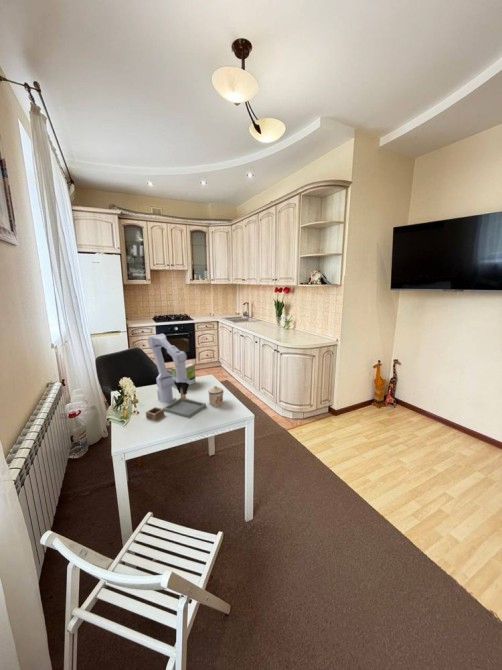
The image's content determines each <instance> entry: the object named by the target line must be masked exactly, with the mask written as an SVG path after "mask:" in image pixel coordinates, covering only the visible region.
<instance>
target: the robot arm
mask: <svg viewBox="0 0 502 670" xmlns="http://www.w3.org/2000/svg"><path fill="white" fill-rule="evenodd" d="M167 339H168V338H167V335H165V334H164V333H159V334H154V335H149V336H148V339H147V343H148V347H149V349H150V350H152V353H153V354H152V355H153V357H154V359H155V360H154V361H155V364H156V368H157V370H158V376H157V377H156V378H155V379H156V386H157V390H156V392H157V393H156V395H157V400H156V401H158V402H160V403H161V402H162V403H163V404H164V403H165V404H168V403H169V404H170V403H171V402H174V401H176V400H177V398H176V397H174V396H173V395H174V394H173V393H174V392H173V388H174V387H173V385H174V384H175V385H176V387H177V388H176V389H177V390H178V394H180V388H181V387H182V389H183V394H184V395H185V394H186V395H187V394H188V389H189V386H191V385H192V380H189V379H188V378H187V377H186V365H185V363H186V361H187V359H188V355H187V353H186V352H185V351H184V350H183V351H182V350H180V349H179V348H178V347H176V346H175V345H172V344H171V343H170V342H169V341H168V340H167ZM162 348H164V349H165V350H166V352H167V354H168V355H169V356H170V357H171V358H172V360H173V364H174V367H176V376H177V377H172V373H170V372H168V371H167V367H166V363H165V359H164V356H163V353H162ZM174 381H176V382H175V383H174ZM190 384H191V385H190Z"/></svg>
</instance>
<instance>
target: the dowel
mask: <svg viewBox="0 0 502 670" xmlns="http://www.w3.org/2000/svg"><path fill="white" fill-rule="evenodd" d="M179 394H180V398H181V401H186V399H187V394H185V395H184V394H183V389H182V387H181V388H180V393H179Z"/></svg>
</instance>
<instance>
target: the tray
mask: <svg viewBox="0 0 502 670" xmlns="http://www.w3.org/2000/svg"><path fill="white" fill-rule="evenodd" d="M205 408H207V403H206V402H201V401H198V400H197V401H196V400H193V399H189V398H186V401H181V397H180V398H179V399H176V400H174V401H172V403H171V402H170V403H169V404H167V405H166V406H165V407H162V409H164V412H167V413H170V414H173V415H175V416H180V417H184V418H187V419H189V418H191V417H193V416H194V415H195V414H197V413H198V412H200V411H201V410H203V409H205Z"/></svg>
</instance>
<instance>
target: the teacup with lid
mask: <svg viewBox="0 0 502 670" xmlns="http://www.w3.org/2000/svg"><path fill="white" fill-rule="evenodd" d="M224 392H225V391H224V389H223V388H222V387H219V386H217V385H213V387H211V388H209V389H208V391H207V393H208V401H209V403H208V404H209V405H210V406H211V407H219V406H221V405H223V404H224Z"/></svg>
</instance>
